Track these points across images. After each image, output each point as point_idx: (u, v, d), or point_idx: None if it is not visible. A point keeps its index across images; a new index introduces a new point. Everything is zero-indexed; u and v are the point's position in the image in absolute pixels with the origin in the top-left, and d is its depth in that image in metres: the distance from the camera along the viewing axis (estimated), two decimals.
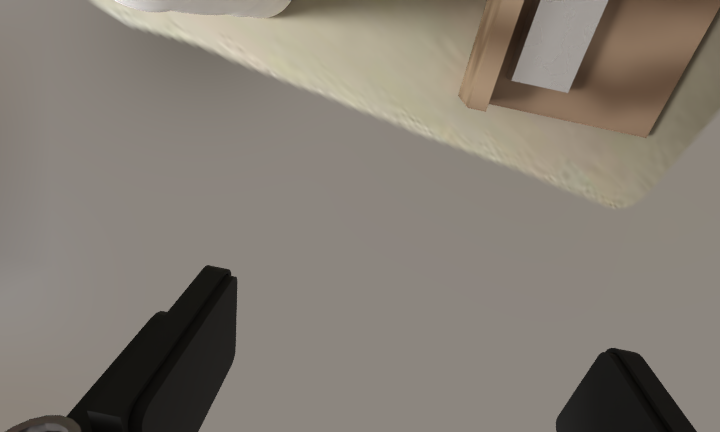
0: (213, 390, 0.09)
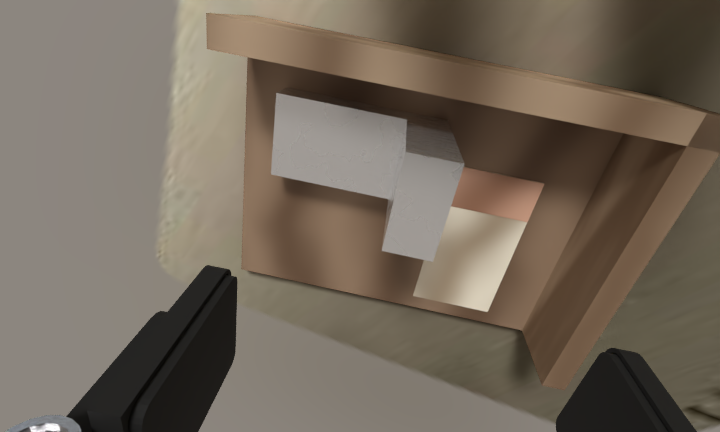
0: (213, 390, 0.09)
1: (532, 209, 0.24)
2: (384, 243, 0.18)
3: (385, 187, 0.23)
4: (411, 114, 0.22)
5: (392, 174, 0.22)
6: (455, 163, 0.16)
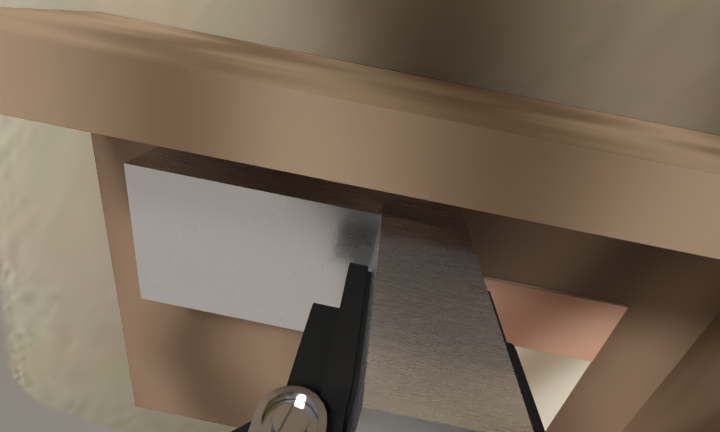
0: None
1: (601, 342, 0.14)
2: None
3: None
4: (392, 194, 0.12)
5: None
6: None
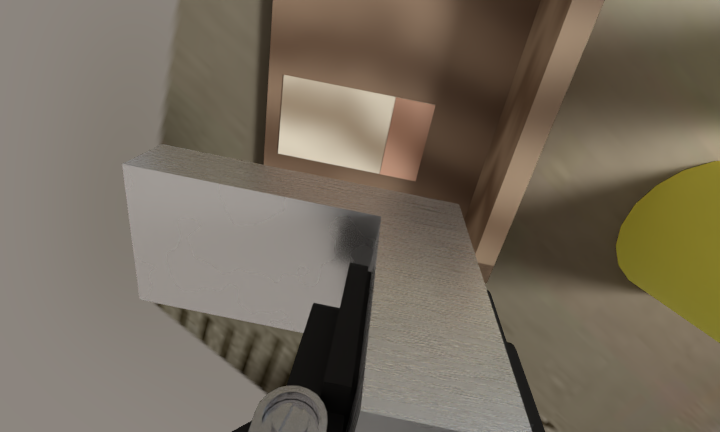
0: None
1: (391, 175, 0.29)
2: None
3: None
4: (391, 195, 0.12)
5: None
6: None
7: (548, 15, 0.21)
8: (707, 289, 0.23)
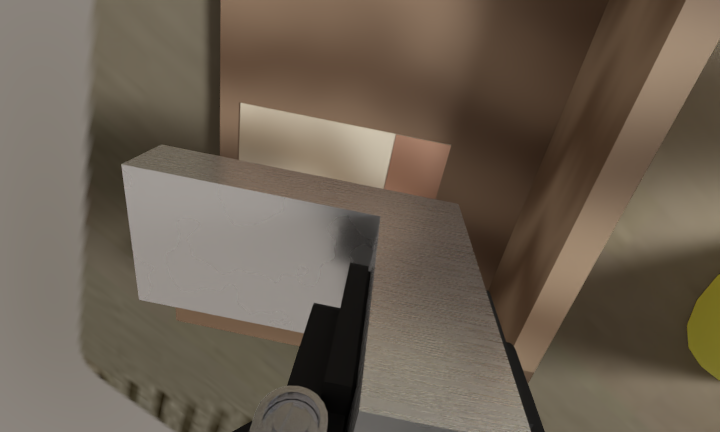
0: None
1: None
2: None
3: None
4: (391, 195, 0.12)
5: None
6: None
7: (628, 21, 0.14)
8: None
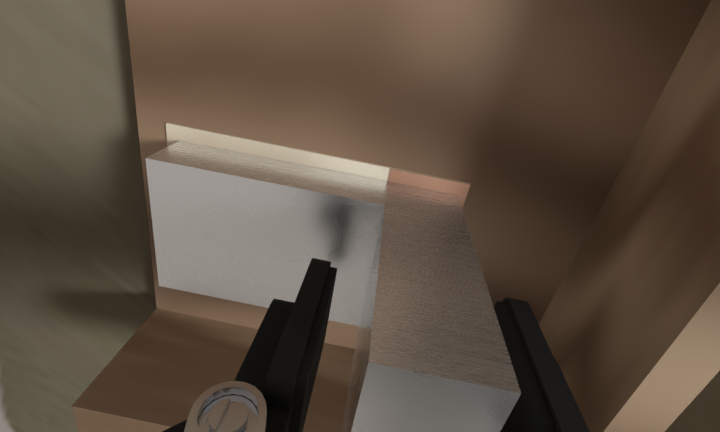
0: (316, 370, 0.10)
1: None
2: None
3: (352, 309, 0.13)
4: (394, 186, 0.13)
5: (363, 290, 0.13)
6: (497, 391, 0.06)
7: None
8: None
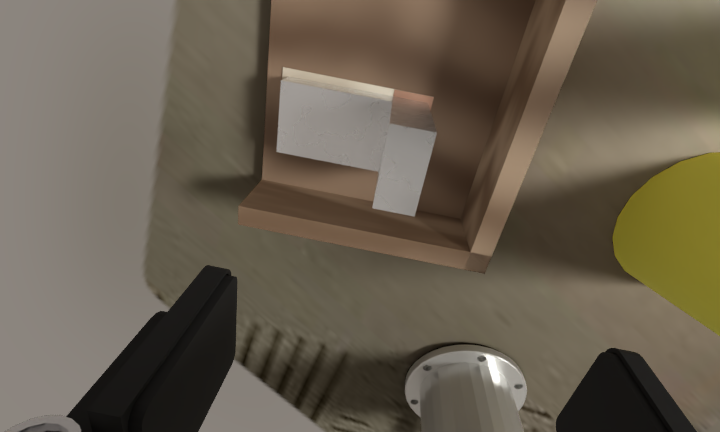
0: (213, 390, 0.09)
1: None
2: (374, 201, 0.22)
3: (375, 161, 0.27)
4: (396, 98, 0.26)
5: (381, 149, 0.26)
6: (429, 132, 0.19)
7: (545, 6, 0.21)
8: (701, 278, 0.24)
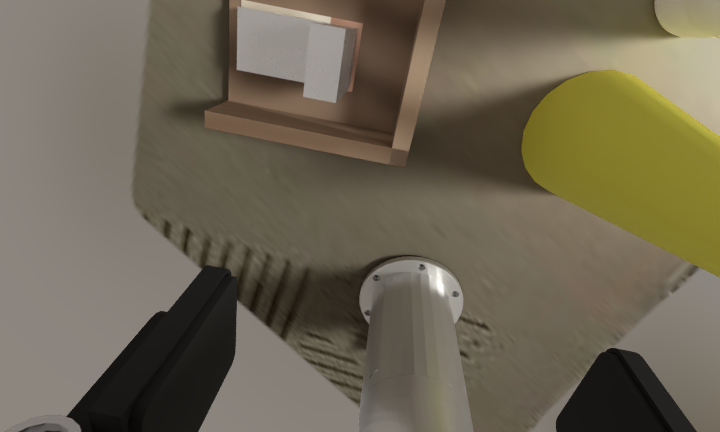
0: (213, 390, 0.09)
1: None
2: (304, 91, 0.28)
3: None
4: None
5: None
6: (340, 28, 0.26)
7: None
8: (569, 160, 0.30)
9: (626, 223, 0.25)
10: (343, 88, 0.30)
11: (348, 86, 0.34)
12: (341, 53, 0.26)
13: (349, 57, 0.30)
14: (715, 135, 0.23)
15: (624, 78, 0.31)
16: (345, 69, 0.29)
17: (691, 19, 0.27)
